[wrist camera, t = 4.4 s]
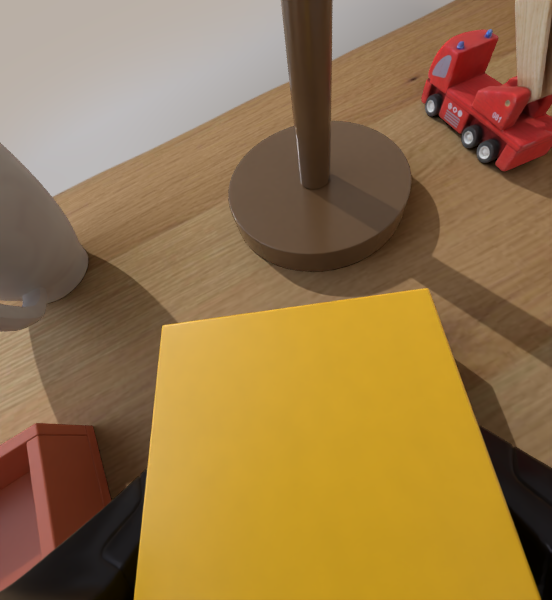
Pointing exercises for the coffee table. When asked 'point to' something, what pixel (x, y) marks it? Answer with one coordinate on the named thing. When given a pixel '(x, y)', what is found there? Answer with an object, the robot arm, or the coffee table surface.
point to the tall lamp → (318, 167)
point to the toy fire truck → (497, 90)
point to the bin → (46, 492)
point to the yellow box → (322, 462)
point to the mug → (33, 247)
